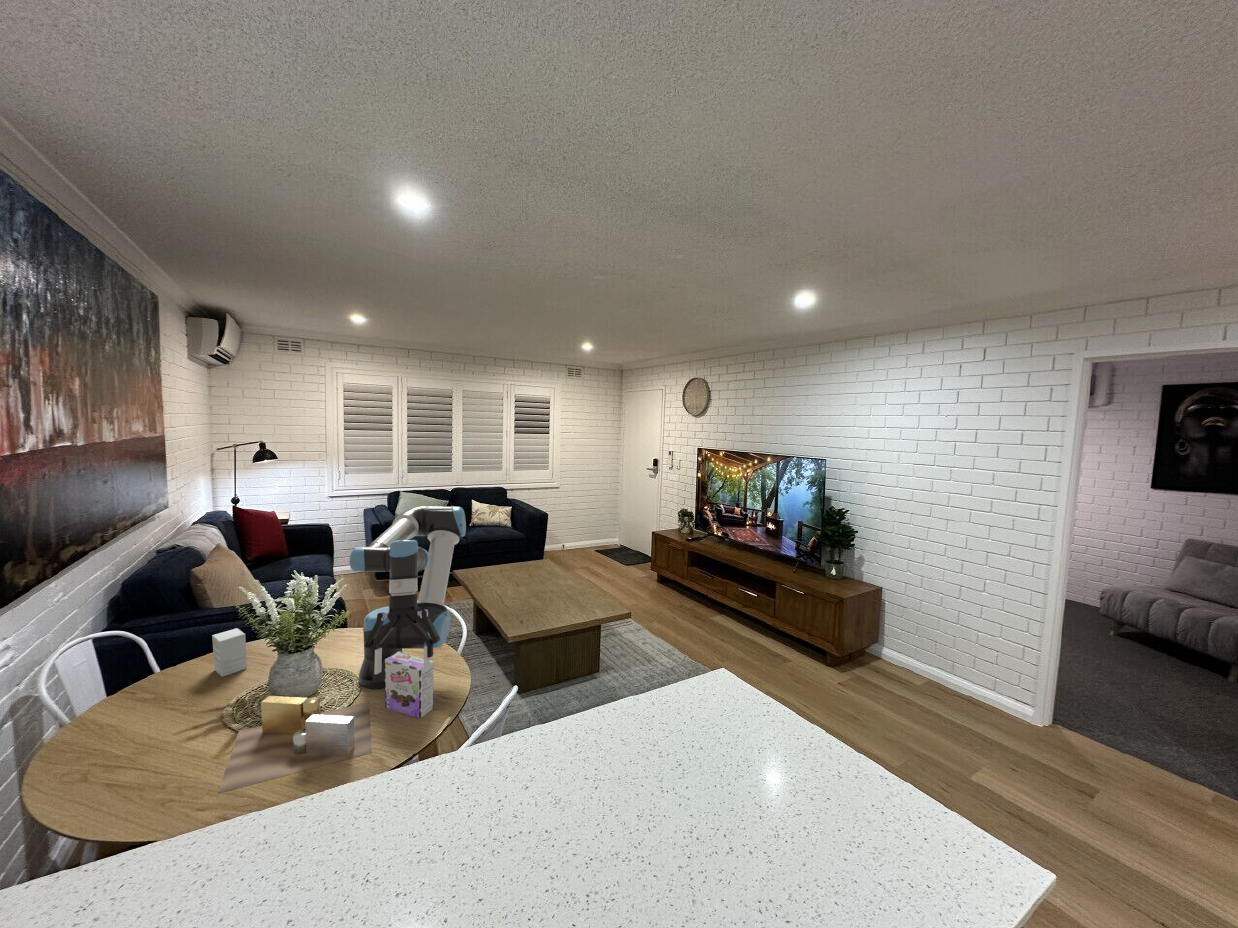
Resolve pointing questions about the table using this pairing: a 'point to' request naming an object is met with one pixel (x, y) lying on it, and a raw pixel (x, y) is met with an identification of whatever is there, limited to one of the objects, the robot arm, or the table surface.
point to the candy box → (408, 685)
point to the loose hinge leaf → (287, 713)
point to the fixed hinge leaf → (325, 736)
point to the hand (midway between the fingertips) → (402, 671)
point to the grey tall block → (229, 652)
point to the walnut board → (287, 752)
